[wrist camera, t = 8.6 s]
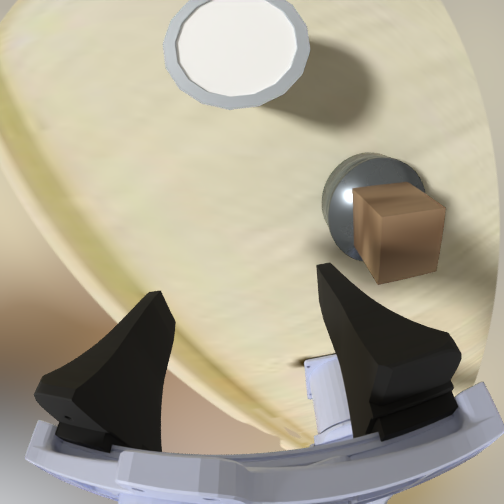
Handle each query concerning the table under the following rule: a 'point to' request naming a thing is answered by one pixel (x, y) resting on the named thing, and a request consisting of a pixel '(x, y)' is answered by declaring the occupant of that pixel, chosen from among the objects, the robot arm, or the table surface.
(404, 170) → the tin
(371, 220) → the walnut block
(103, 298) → the table surface
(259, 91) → the grey and white cylinder
